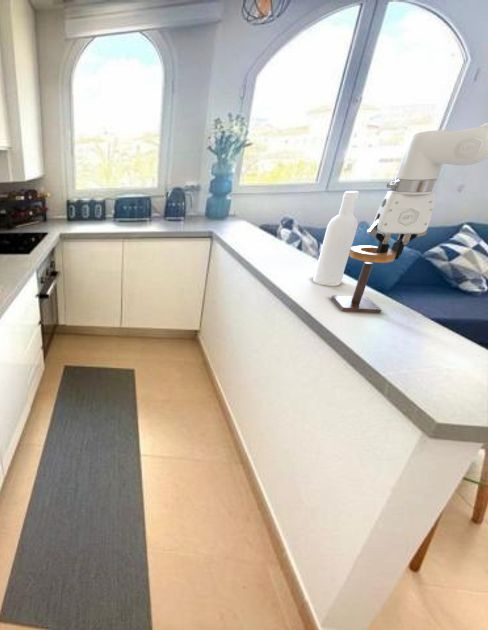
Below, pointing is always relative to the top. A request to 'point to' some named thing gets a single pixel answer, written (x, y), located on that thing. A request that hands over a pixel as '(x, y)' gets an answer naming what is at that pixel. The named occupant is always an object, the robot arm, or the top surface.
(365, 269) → the wooden peg stand
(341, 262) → the bottle
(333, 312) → the top surface
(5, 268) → the top surface
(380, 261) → the ring
